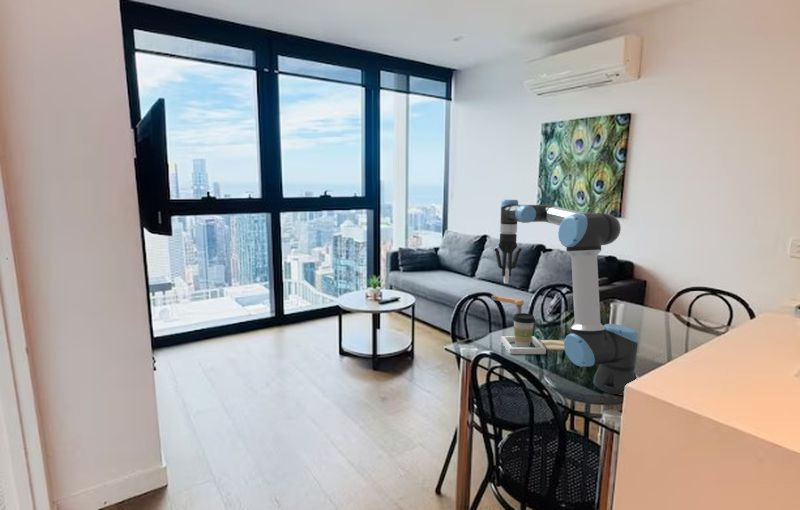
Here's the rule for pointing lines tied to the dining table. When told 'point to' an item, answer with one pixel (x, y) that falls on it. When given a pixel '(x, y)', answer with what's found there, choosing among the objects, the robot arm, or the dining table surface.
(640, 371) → the dining table surface
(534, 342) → the white square frame
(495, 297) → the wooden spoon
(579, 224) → the robot arm
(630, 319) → the dining table surface
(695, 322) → the dining table surface
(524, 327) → the coffee cup
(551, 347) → the cork pad
